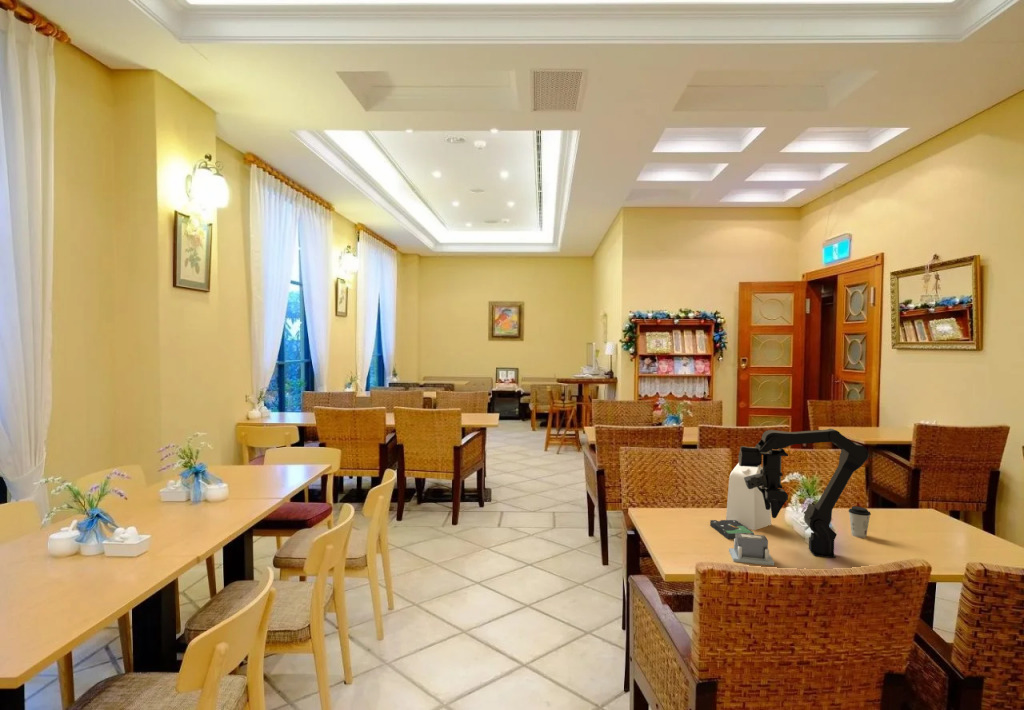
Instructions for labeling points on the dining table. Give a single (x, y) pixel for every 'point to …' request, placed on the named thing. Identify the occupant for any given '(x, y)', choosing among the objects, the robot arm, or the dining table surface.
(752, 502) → the milk
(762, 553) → the block
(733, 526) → the disk drive
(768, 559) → the tray
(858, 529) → the coffee cup
